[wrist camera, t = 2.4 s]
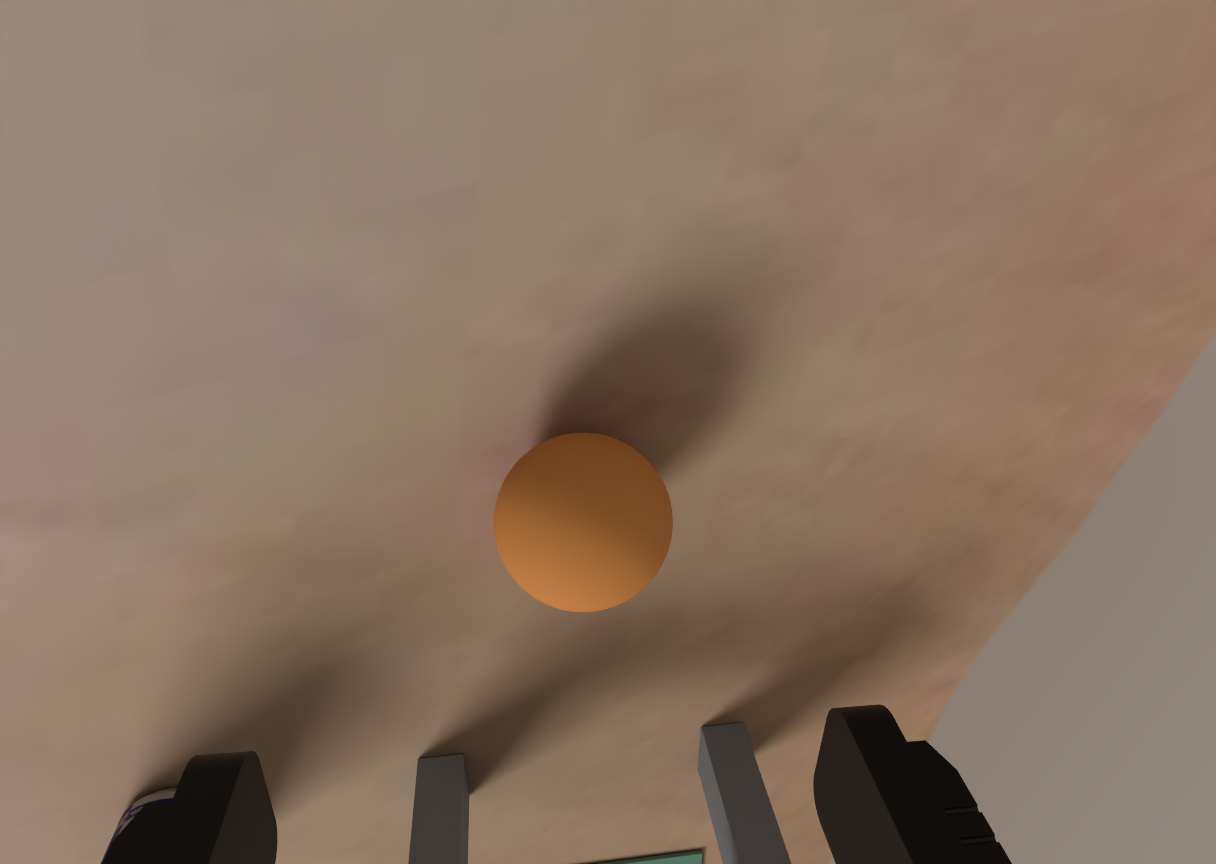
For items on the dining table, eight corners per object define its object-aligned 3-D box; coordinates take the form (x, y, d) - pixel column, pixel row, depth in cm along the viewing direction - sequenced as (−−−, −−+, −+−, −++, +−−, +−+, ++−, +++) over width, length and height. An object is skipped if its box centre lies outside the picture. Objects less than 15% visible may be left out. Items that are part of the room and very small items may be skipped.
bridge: (417, 758, 36) (396, 996, 27) (742, 722, 37) (816, 935, 29) (426, 801, 37) (407, 1039, 29) (738, 764, 39) (806, 979, 31)
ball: (486, 407, 28) (486, 505, 22) (656, 395, 28) (694, 489, 23) (499, 545, 31) (501, 660, 25) (653, 532, 31) (686, 642, 26)
